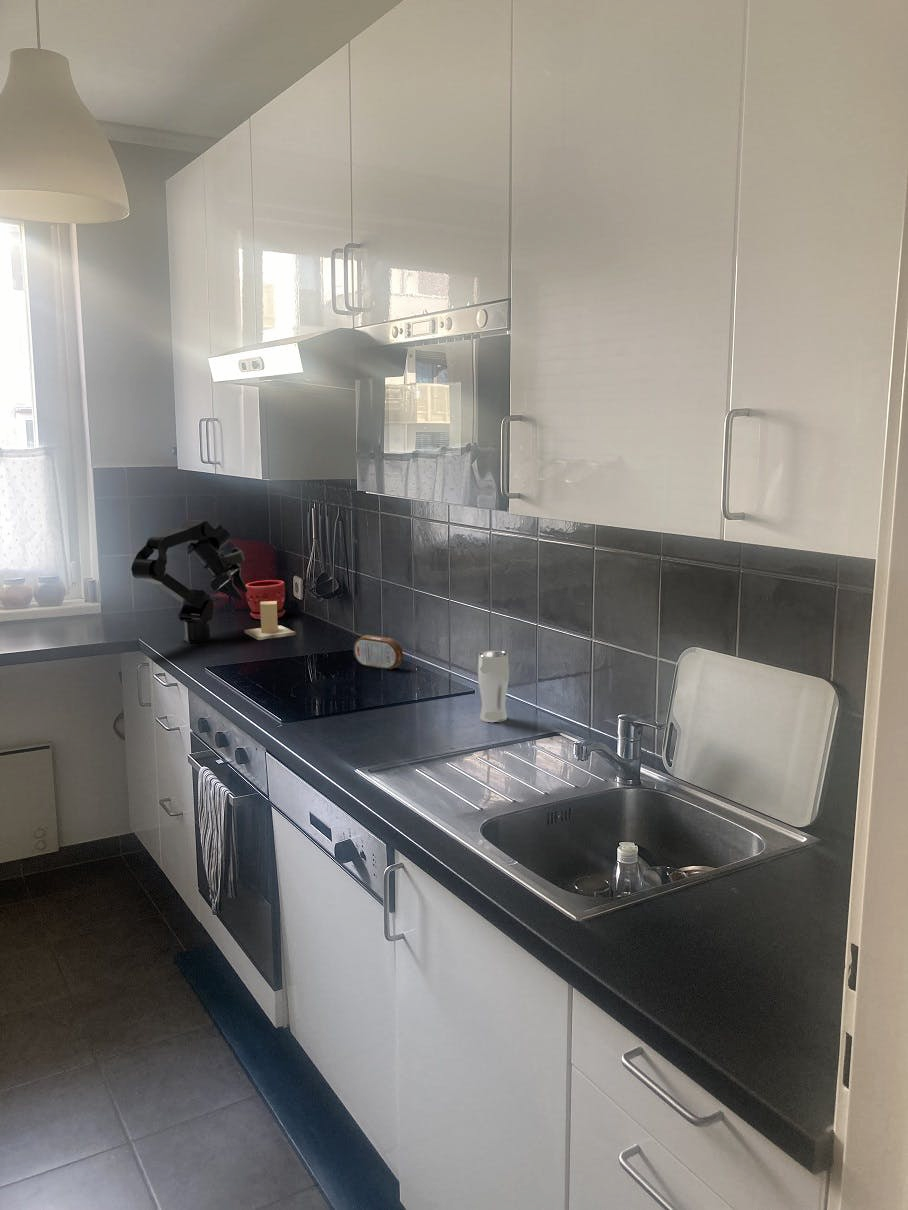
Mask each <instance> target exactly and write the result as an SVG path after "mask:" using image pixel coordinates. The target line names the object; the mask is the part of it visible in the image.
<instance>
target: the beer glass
mask: <svg viewBox="0 0 908 1210" xmlns="http://www.w3.org/2000/svg"><path fill="white" fill-rule="evenodd" d="M509 677H510V665H509V653H508V652H507V651H504V650H495V649H493V650H489V649H488V650H484V651H479V652H478V660H477V682H478V689H479V694H480V699H481V710H480V713H479V714H480V715H479V720H480V721H482V722H485V723H488V722H490V723H493V724H495V723H494V722H499V723H503V722H505V721H507V719H508V716H507V711H506V710H507V709H506V697H507V692H508V688H509V687H508V686H509Z"/></svg>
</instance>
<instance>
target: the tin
mask: <svg viewBox="0 0 908 1210" xmlns="http://www.w3.org/2000/svg"><path fill="white" fill-rule="evenodd" d="M353 654H354V657H355V659H356V661H357V662H358V663H359V664H360V665H362V666H364V667H369V668H374V669H375V668H376V669H382V670H387V669H389V670H392V669H396V668H398V667H399V666H400V665H401V664H402V662H403V659H404V653H403V648H402V646H401V645H400V643H399V642H398V641H396V640H395V639H393V638H392V637H385V636H377V635H371V634H365V635H363V636H362V637H359V638H358V639H356V641H355V642H354V643H353Z"/></svg>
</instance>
